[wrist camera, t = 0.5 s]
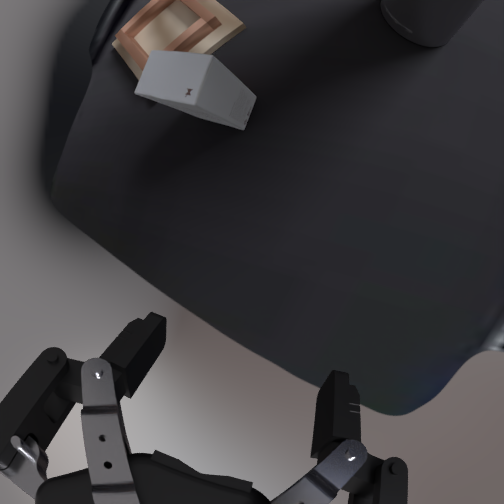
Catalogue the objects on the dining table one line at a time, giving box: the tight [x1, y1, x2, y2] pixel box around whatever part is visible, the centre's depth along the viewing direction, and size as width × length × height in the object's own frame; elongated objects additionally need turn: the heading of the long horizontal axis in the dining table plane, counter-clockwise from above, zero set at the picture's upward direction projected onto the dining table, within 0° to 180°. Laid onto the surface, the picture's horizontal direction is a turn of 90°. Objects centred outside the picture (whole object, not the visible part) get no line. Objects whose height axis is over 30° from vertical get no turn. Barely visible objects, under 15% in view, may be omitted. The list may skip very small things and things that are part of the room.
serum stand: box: [112, 0, 246, 80], centre depth 26 cm, size 14×14×3 cm
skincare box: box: [134, 50, 257, 130], centre depth 23 cm, size 6×4×12 cm
